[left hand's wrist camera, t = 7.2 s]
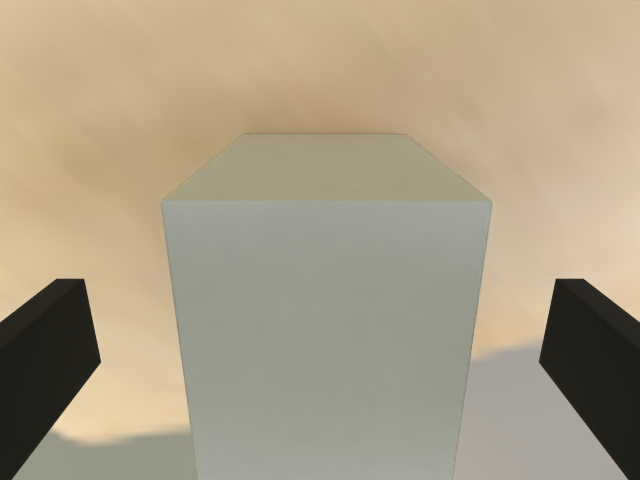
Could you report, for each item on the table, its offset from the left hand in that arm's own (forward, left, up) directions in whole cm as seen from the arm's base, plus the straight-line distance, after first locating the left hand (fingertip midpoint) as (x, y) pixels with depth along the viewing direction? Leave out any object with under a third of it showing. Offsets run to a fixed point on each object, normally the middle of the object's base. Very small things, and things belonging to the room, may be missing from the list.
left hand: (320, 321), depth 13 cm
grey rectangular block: (0, 0, -6) cm, 6 cm away
